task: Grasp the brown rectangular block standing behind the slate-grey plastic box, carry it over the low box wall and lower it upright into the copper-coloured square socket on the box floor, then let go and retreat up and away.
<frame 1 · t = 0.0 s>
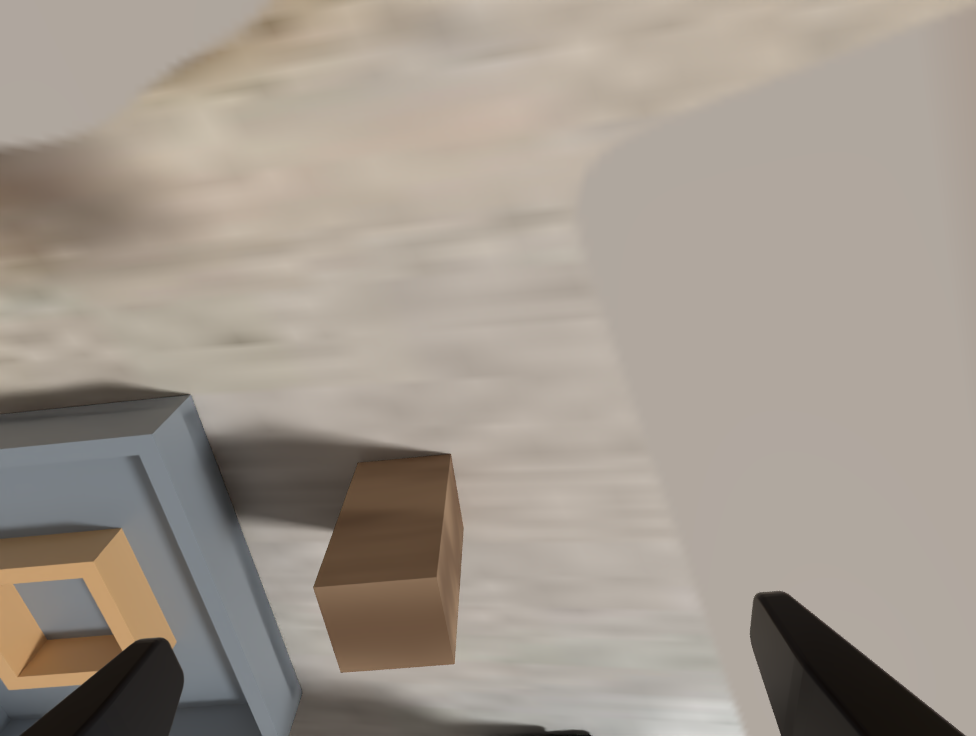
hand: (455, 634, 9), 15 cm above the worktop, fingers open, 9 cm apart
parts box: (91, 577, 28), on the worktop
brown rectangular block: (412, 496, 26), on the worktop
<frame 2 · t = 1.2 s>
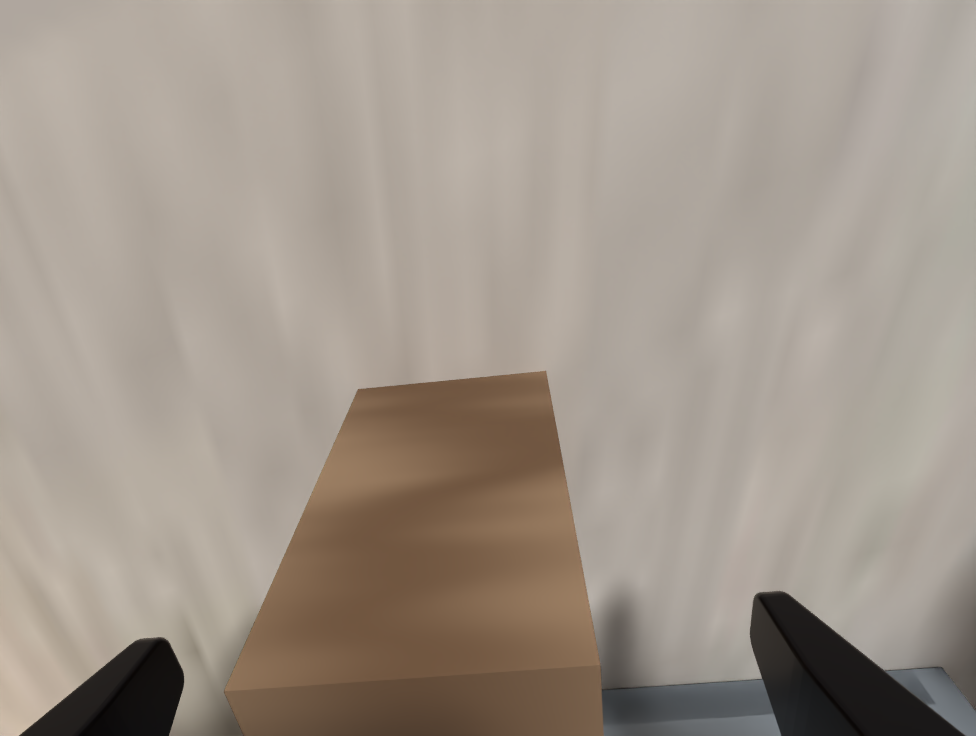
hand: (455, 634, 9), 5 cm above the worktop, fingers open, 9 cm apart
brown rectangular block: (463, 459, 13), on the worktop
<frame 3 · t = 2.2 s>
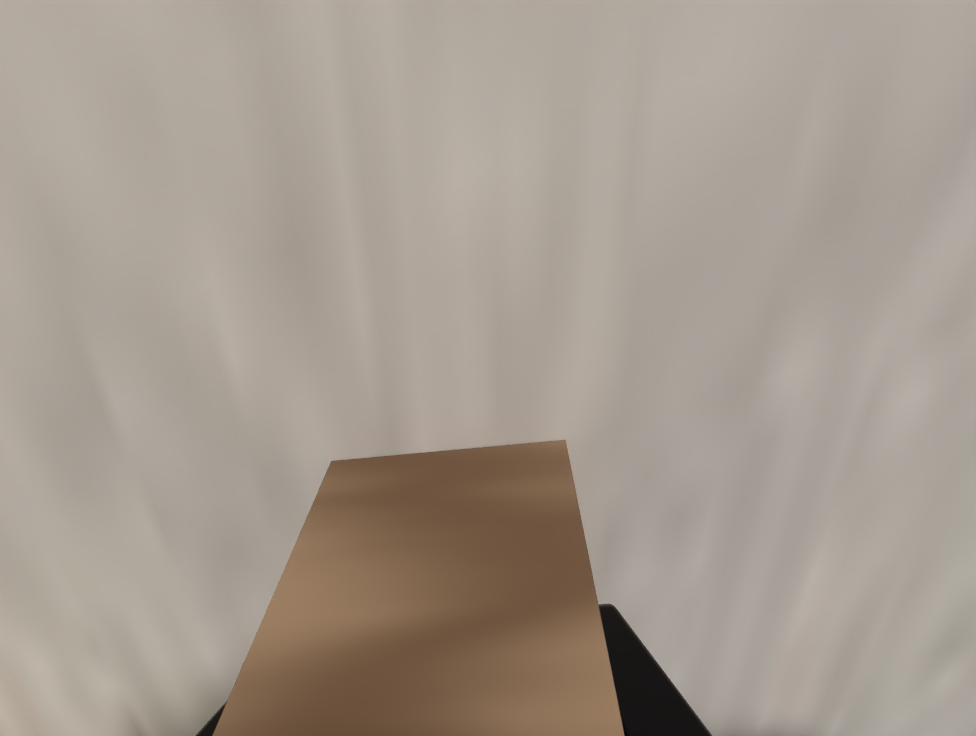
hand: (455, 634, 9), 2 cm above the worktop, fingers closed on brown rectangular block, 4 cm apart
brown rectangular block: (462, 542, 11), on the worktop, touching gripper
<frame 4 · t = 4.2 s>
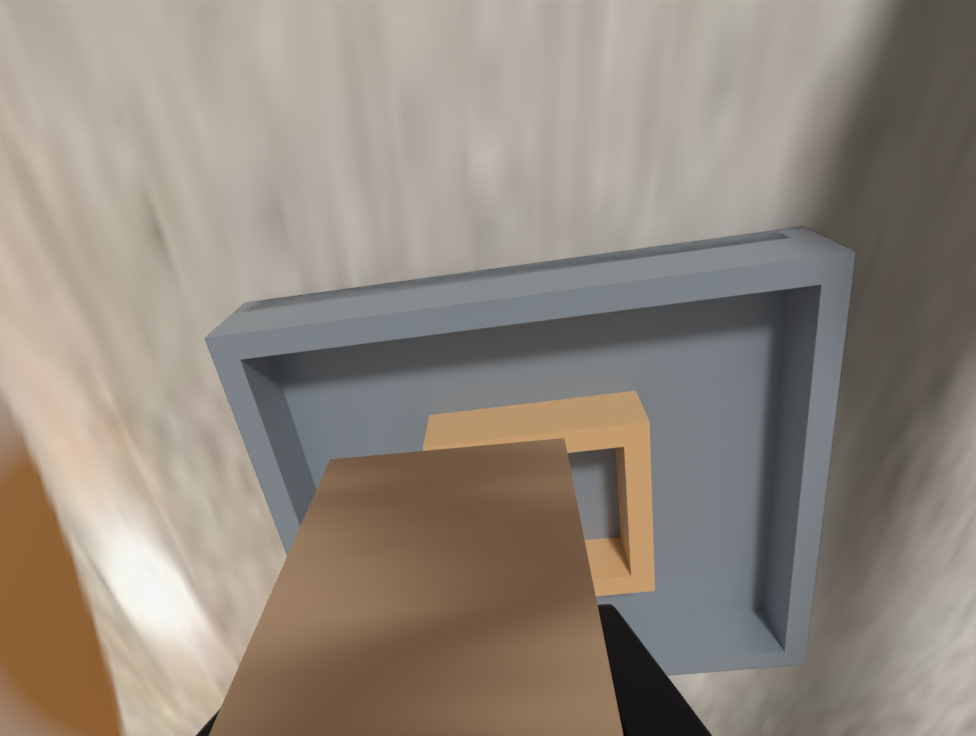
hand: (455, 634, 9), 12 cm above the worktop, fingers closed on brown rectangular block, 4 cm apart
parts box: (540, 470, 23), on the worktop
brown rectangular block: (461, 540, 11), point 10 cm above the worktop, touching gripper
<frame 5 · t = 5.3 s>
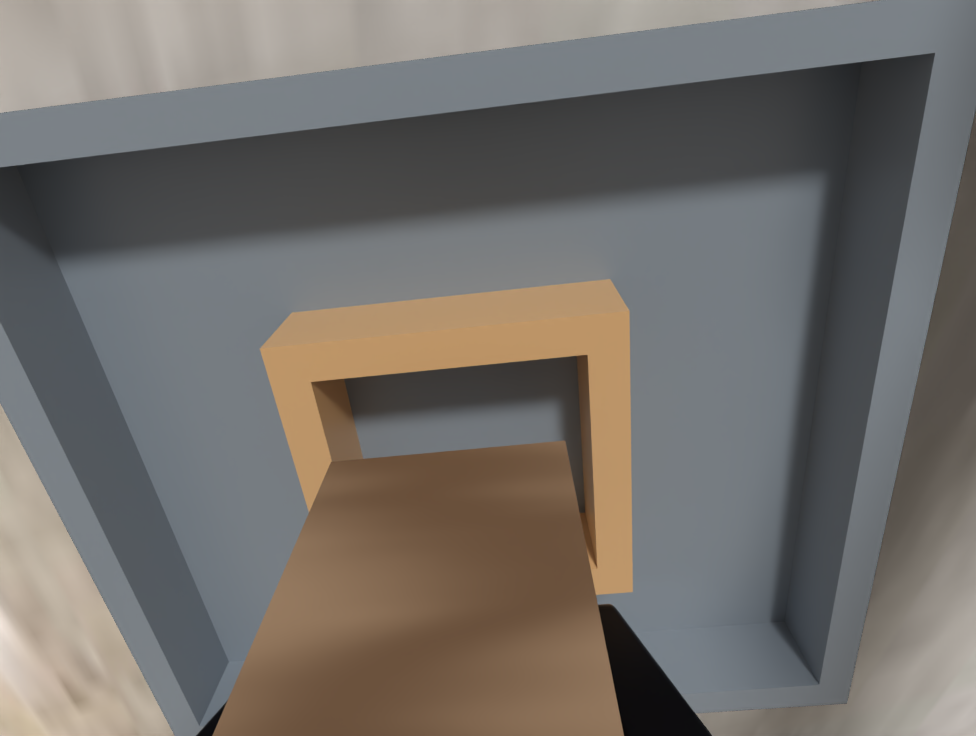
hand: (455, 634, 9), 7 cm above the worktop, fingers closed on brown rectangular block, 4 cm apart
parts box: (470, 412, 15), on the worktop
brown rectangular block: (462, 542, 11), point 5 cm above the worktop, touching gripper
when the fingers open (4 cm above the worktop, at t = 6.2 s): brown rectangular block stays where it is, resting on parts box.
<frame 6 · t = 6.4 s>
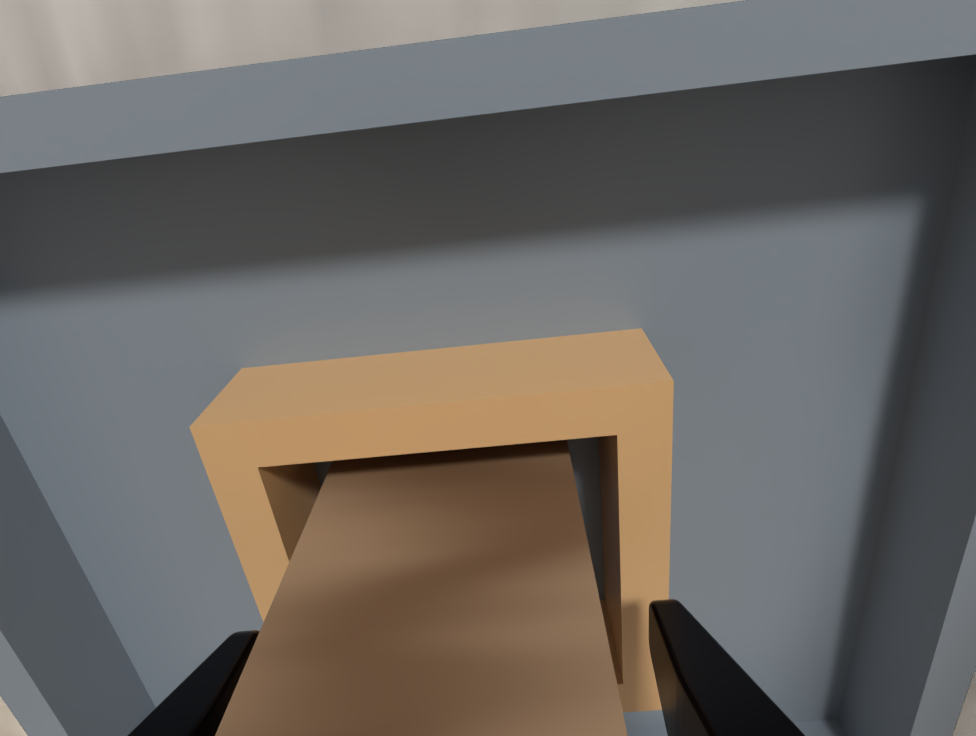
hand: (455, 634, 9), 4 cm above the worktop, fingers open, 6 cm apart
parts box: (466, 479, 13), on the worktop
brown rectangular block: (465, 509, 12), point 1 cm above the worktop, touching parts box
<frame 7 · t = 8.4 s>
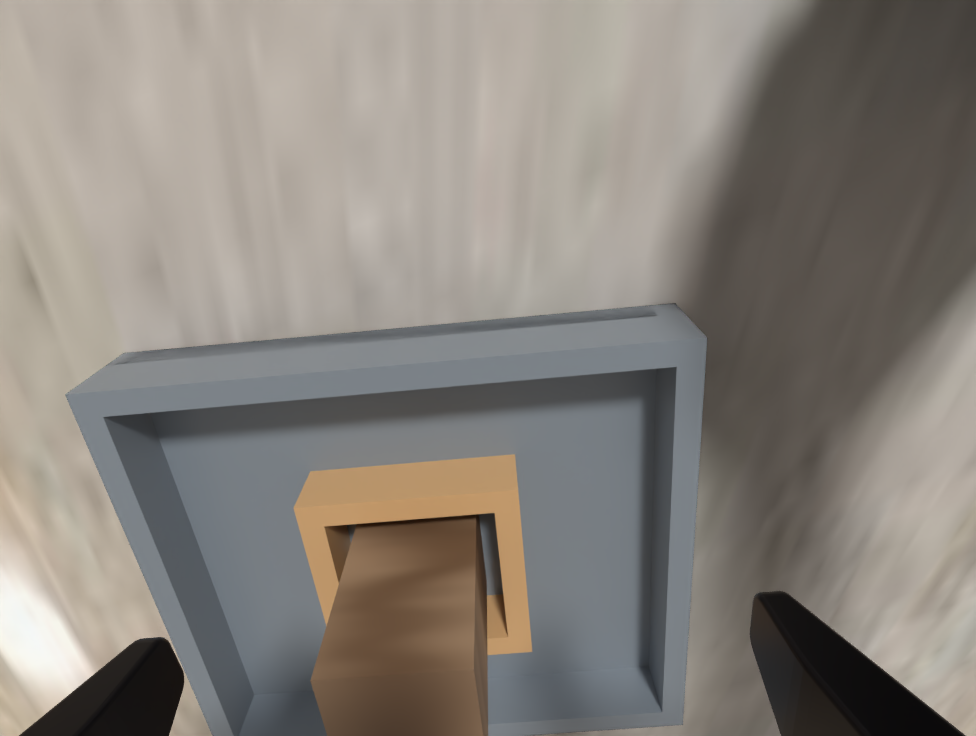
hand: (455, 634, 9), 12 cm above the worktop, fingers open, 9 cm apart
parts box: (428, 525, 23), on the worktop
brown rectangular block: (427, 543, 22), point 1 cm above the worktop, touching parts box
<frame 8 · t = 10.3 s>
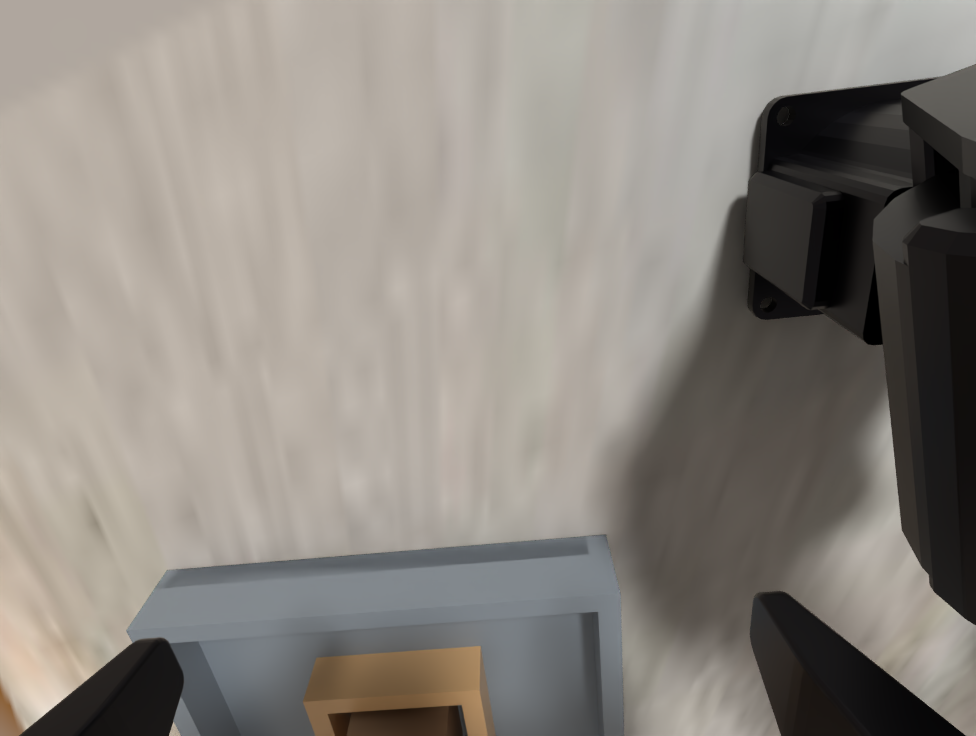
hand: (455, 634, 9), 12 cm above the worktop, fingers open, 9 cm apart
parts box: (414, 686, 27), on the worktop
brown rectangular block: (412, 706, 27), point 1 cm above the worktop, touching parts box
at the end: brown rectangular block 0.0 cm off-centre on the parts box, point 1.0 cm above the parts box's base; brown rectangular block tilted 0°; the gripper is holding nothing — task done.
